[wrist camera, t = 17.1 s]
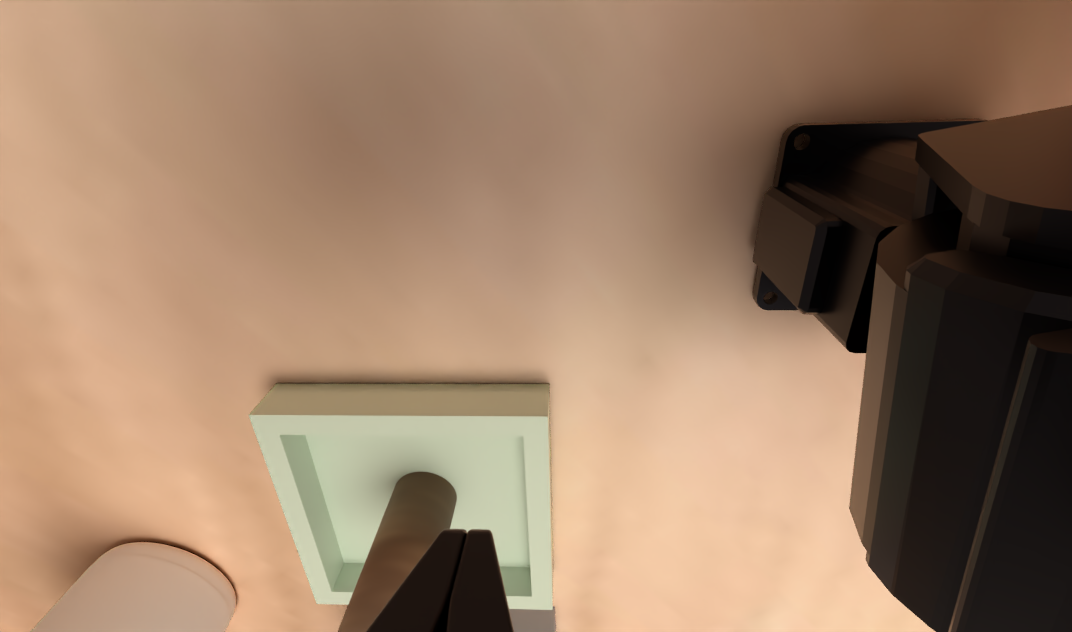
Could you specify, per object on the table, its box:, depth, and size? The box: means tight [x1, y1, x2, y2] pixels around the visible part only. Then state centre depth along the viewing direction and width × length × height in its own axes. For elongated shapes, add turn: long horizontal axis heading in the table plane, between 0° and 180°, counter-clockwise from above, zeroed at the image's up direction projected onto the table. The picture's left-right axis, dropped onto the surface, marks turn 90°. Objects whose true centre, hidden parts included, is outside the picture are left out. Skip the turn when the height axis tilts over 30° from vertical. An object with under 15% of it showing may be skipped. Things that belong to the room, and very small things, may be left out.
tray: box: [249, 383, 553, 610], centre depth 24 cm, size 12×12×2 cm
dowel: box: [338, 472, 457, 632], centre depth 21 cm, size 3×3×7 cm
